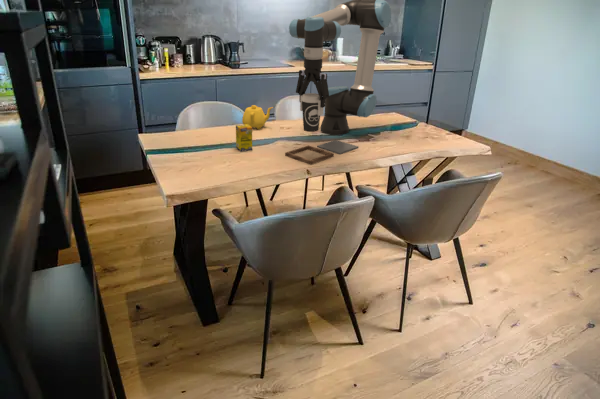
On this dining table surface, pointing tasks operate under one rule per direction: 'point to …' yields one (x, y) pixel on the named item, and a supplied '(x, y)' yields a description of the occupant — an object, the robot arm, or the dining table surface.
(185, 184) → the dining table surface
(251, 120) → the teapot
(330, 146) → the coaster
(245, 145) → the supplement box
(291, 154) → the frame
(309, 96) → the coffee cup
